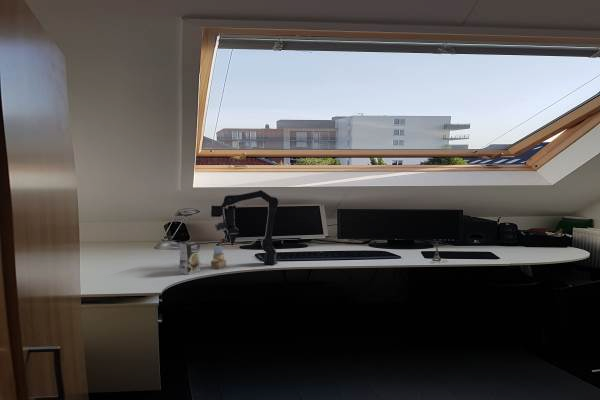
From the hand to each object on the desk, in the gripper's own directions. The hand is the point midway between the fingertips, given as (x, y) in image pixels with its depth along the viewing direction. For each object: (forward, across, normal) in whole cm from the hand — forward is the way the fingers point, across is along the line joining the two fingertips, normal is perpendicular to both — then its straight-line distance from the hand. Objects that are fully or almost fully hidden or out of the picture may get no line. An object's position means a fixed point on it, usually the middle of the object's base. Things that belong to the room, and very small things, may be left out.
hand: (230, 243), depth 252 cm
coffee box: (+12, +9, -25) cm, 29 cm away
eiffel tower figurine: (+16, +33, +121) cm, 126 cm away
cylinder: (+4, +3, -8) cm, 10 cm away
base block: (+12, +3, -8) cm, 15 cm away
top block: (+8, +3, -8) cm, 12 cm away
